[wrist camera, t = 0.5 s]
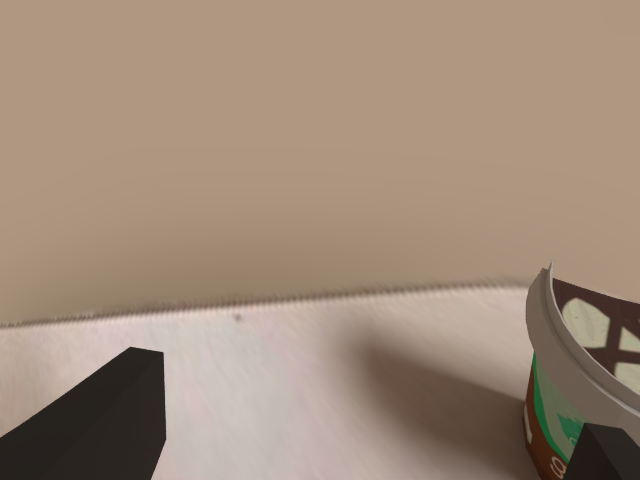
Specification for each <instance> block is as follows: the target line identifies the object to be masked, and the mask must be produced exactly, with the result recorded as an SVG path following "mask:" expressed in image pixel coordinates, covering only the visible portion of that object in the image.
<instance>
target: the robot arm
mask: <svg viewBox="0 0 640 480" xmlns="http://www.w3.org/2000/svg"><path fill="white" fill-rule="evenodd" d="M165 441H166V416H165V385H164V353H163V352H159V351H152V350H146V349H140V348H134V347H129V348H128V349H126V350H125V351H124V352H122V353H121V354H119V355H118V356H116V357H115V358H114V359H112V360H111V361H109V362H108V363H107V364H105V365H104V366H102V367H101V368H100V369H98V370H97V371H96V372H94V373H93V374H91V375H90V376H89V377H87V378H86V379H85V380H83V381H82V382H80V383H79V384H78V385H76V386H75V387H74V388H72V389H71V390H69V391H68V392H67V393H65V394H64V395H62V396H61V397H60V398H58V399H57V400H55V401H54V402H52V403H51V404H50V405H48V406H47V407H45V408H44V409H42V410H41V411H40V412H38V413H37V414H35V415H34V416H32V417H31V418H30V419H28V420H27V421H25V422H24V423H22V424H21V425H19V426H18V427H16V428H15V429H13V430H11V431H10V432H8V433H7V434H5V435H4V436H2V437H1V438H0V480H151V478H152V475H153V473H154V470H155V468H156V465H157V462H158V460H159V457H160V454H161V452H162V449H163V446H164V444H165ZM562 480H640V447H639V446H638V445H637V444H636V443H635V441H634V440H633V439H632V438H631V437H630V436H629V435H628V434H627V433H626V432H625V431H624V430H623V429H622V428H616V427H610V426H604V425H598V424H592V423H586V422H584V425H583V427H582V430H581V432H580V435H579V438H578V440H577V443H576V445H575V448H574V450H573V453H572V456H571V458H570V461H569V463H568V466H567V468H566V471H565V474H564V476H563V479H562Z"/></svg>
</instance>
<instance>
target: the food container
mask: <svg viewBox="0 0 640 480" xmlns="http://www.w3.org/2000/svg"><path fill="white" fill-rule="evenodd" d="M553 265H554V260H552V261H551V264H550V266H549V269H548V270H547V269H544V268H542V270H541V271H540V273H539V274H538V276H537V277H536V279H535V280H534V282H533V283H532V285H531V286H530V288H529V291H528V295H527V300H526V324H527V329H528V334H529V338H530V341H531V344H532V346H533V349H534V354H533V360H532V366H531V372H530V378H529V384H528V389H527V395H526V401H525V407H524V413H523V419H522V421H523V428H524V436H525V443H526V448H527V450H528V453H529V455H530V457H531V459H532V461H533V463H534V465H535V467H536V469H537V472H538V474H539V476H540V477H541V479H542V480H562V479H563V476H564V474H565V471H566V468H567V466H568V463H569V461H570V458H571V456H572V453H573V450H574V448H575V445H576V443H577V440H578V438H579V435H580V432H581V430H582V427H583V425H584V422H586V423H592V424H598V425H604V426H610V427H616V428H622V429H623V430H624V431H625V432H626V433H627V434H628V435H629V436H630V437H631V438H632V439H633V440H634V441H635V443H636V444H637V445H638V446H639V447H640V304H637V303H633V302H629V301H625V300H621V299H617V298H613V297H610V296H607V295H604V294H600V293H597V292H594V291H591V290H588V289H585V288H581V287H578V286H575V285H572V284H569V283H566V282H564V281H561V280H557V279H555V278H552V271H553Z"/></svg>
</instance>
